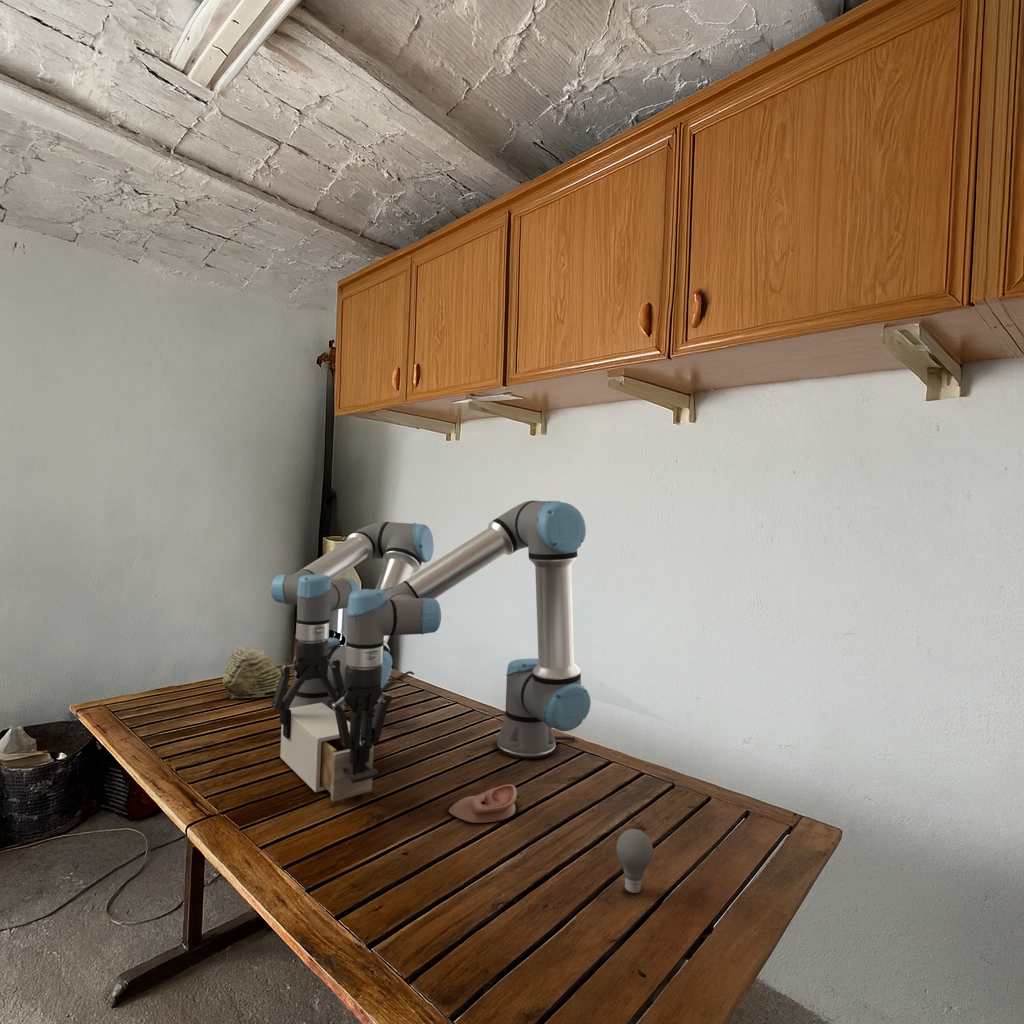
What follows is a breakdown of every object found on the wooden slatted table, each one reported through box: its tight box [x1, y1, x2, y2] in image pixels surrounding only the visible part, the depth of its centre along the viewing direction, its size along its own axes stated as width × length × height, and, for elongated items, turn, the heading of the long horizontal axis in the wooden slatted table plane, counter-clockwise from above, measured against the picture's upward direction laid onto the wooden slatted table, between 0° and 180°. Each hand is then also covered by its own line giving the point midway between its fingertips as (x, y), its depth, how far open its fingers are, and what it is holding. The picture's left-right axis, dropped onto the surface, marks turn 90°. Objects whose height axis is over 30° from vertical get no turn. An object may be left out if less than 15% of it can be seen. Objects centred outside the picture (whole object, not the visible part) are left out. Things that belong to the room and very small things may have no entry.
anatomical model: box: [448, 783, 518, 824], centre depth 131 cm, size 13×4×12 cm
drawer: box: [320, 738, 379, 802], centre depth 138 cm, size 26×9×10 cm, turn 39°
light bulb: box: [615, 828, 654, 894], centre depth 106 cm, size 6×6×10 cm
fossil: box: [222, 646, 281, 699], centre depth 198 cm, size 9×18×15 cm, turn 132°
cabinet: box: [279, 703, 361, 793], centre depth 147 cm, size 22×10×12 cm, turn 39°
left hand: (308, 732), depth 152 cm, fingers closed on cabinet, 10 cm apart
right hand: (358, 778), depth 131 cm, fingers closed
